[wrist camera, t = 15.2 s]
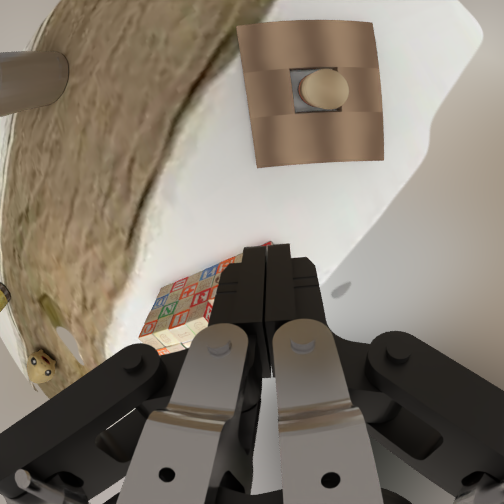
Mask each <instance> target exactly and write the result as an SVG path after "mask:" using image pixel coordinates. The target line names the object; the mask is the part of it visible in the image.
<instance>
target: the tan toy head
mask: <svg viewBox="0 0 504 504" xmlns="http://www.w3.org/2000/svg"><path fill="white" fill-rule="evenodd" d="M55 363H56V361H55V360H52V359H51V358H50V357H49V356H48V355H47V354H45V353H44V352H43V350H42V349H40V350H39V352H34V353H32V354H31V355H30V356H29V358H28V362H27V371H28V376H29V378H30V380H31V381H32V382H34V383H44V382H47V381H49V380H50V379H52V378H53V377H54V374H55V366H54V365H55Z"/></svg>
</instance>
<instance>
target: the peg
mask: <svg viewBox="0 0 504 504" xmlns="http://www.w3.org/2000/svg"><path fill="white" fill-rule="evenodd" d="M298 92H299V95H300V97H301V99H302V100H303V101H304V102H305V103H307V104H308V105H310V106H313V107H319V108H323V109H336V108H338V107H340V106H342V105H343V104H344V103H345V101H346V100H347V98H348V94H349V87H348V84H347V81H346V80H345V78H344V77H343V76H342V75H341V74H340V73H338V72H337V71H334V70H331V69H321V70H318V71H316V72H314V73H312V74H309V75H307V76H305V77H304V78H303V79H302V80H301V82H300V84H299V87H298Z"/></svg>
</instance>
